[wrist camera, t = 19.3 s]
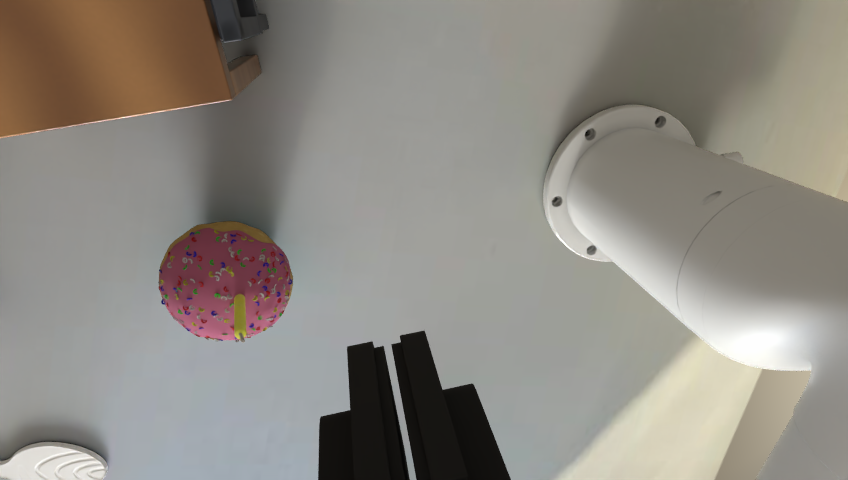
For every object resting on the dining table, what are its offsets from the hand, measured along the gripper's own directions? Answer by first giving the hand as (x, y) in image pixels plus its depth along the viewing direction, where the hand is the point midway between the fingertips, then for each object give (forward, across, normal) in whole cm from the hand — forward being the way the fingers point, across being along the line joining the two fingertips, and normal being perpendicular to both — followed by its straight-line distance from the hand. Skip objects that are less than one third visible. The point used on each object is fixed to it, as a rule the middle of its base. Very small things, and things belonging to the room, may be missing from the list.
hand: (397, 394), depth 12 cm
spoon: (+29, +34, +22) cm, 50 cm away
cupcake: (+29, +10, +8) cm, 32 cm away
